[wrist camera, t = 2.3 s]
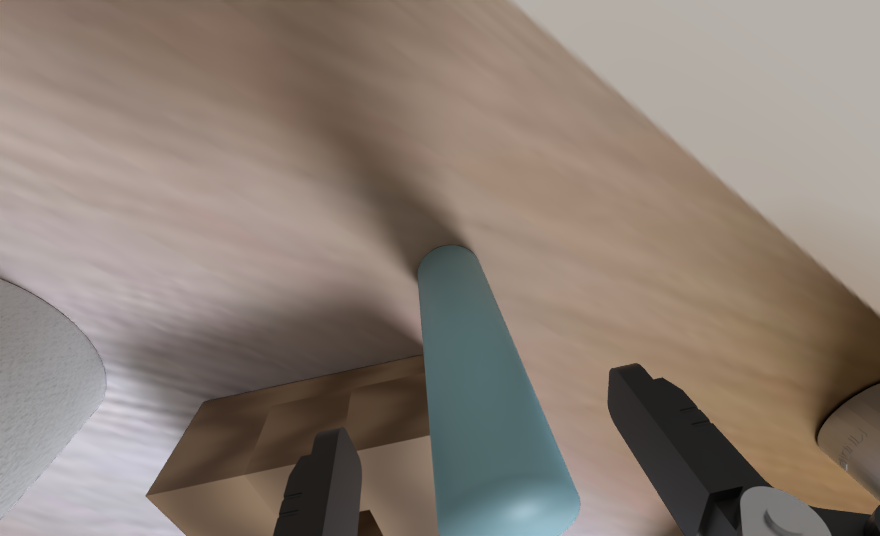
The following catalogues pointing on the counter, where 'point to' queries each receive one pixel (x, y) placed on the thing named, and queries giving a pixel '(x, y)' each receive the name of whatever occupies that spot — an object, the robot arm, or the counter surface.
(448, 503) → the dowel
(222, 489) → the bore block
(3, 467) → the toilet paper roll
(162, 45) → the counter surface
